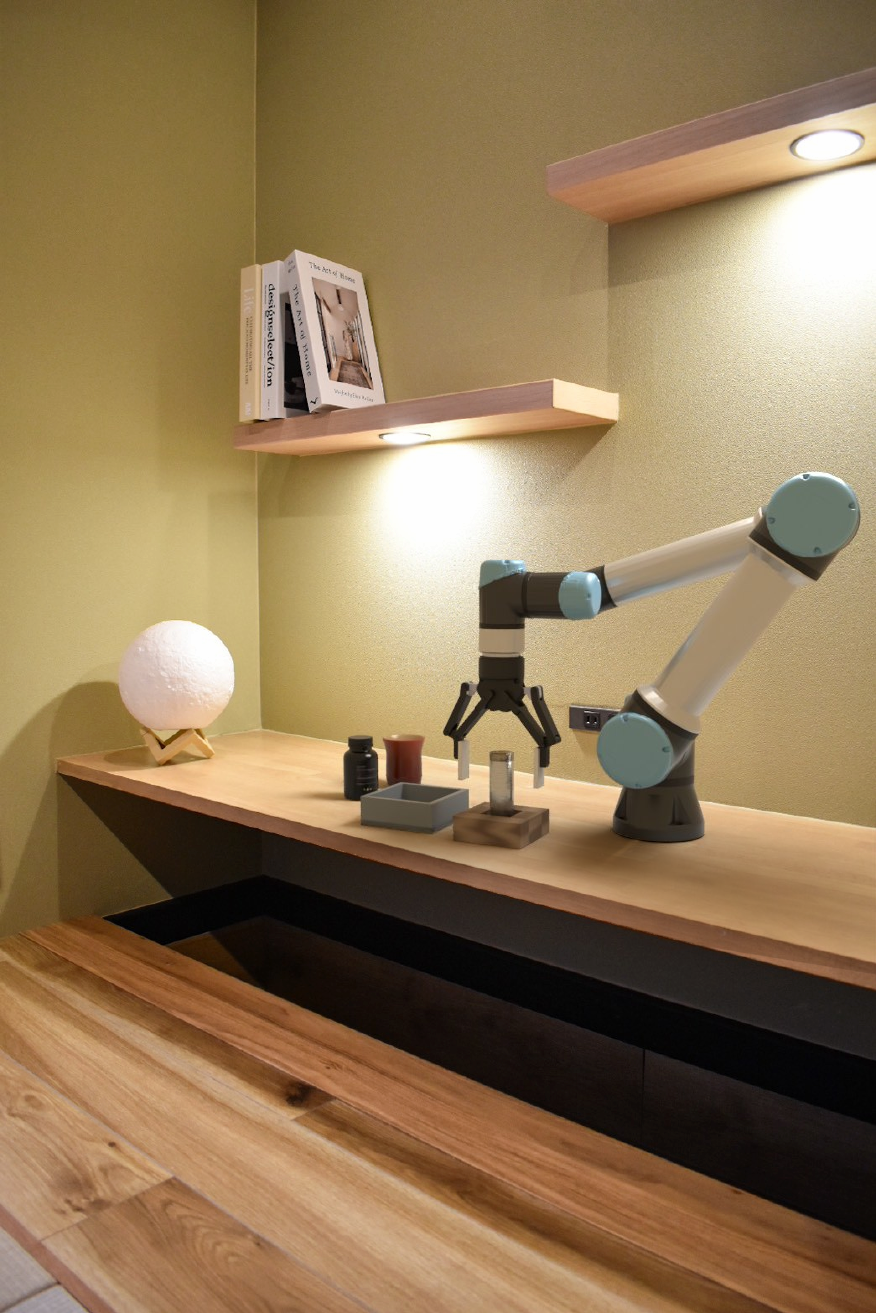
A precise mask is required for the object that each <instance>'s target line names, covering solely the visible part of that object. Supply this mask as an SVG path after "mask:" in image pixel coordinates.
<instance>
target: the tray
mask: <svg viewBox="0 0 876 1313" xmlns="http://www.w3.org/2000/svg"><path fill="white" fill-rule="evenodd" d="M469 808H470V789H469V788H463V787H462V788H460V787H453V786H452V787H450V786H443V785H441V786H440V785H432V784H431V785H430V784H422V783H421V784H414V783H404V782H400V783H397V784H395V785H392V786H386V787H384V788H380V789H378V790H377V791H375V792H372V793H369V794H366V795H363V796H361V801H360V826H366V827H375V828H383V829H391V830H398V831H405V832H413V833H414V832H415V833H423V834H428V835H431V834H435V833H437V832H440V831H441V830H444V829H446V828H448V827H450V826H453V816H454V815H456V814H458V813H461V812H463V811H465V810H467V809H469Z"/></svg>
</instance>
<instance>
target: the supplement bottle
mask: <svg viewBox="0 0 876 1313" xmlns="http://www.w3.org/2000/svg"><path fill="white" fill-rule="evenodd" d="M347 747H348V748H349V749H348V750H346V751H345V752H344V753H343V756H342V761H343V766H342V767H343V769H342V770H343V772H342V773H343V797H344V798H345V799H346V800H349V801H352V802H353V801H354V802H355V801H356V802H361V796H363V795H366V794H369V793H372V792H375V791H377V790H379V754H378V752H377V751H376V750H375V749H373V747H374V737H373V736H371V735H366V734H365V735H364V734H361V735H360V734H358V735H357V734H356V735H351V736H348V738H347Z"/></svg>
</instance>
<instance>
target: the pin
mask: <svg viewBox="0 0 876 1313" xmlns="http://www.w3.org/2000/svg"><path fill="white" fill-rule="evenodd" d="M488 753H489V756H488V758H489V766H488V767H489V802H490V815H493V816H502V817H512V816H514V805H515V752H514V751H513V750H512V751H511V750H500V749H499V750H492V751H489V752H488Z"/></svg>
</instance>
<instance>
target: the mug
mask: <svg viewBox="0 0 876 1313" xmlns="http://www.w3.org/2000/svg"><path fill="white" fill-rule="evenodd" d="M381 738H382V742H383V746H384V749H385V757H386V759H385V779H386V780H385V781H386V784H387V787H389V786H392V785H395V784H397V783H400V782H404V783H414V784H422V778H423V763H422V762H423V761H422V758H423V757H422V754H423V752H422V751H423V748H424V745H425V744H424V743H425V739H426V737H425V736H424V735H420V734H411V733H399V734H398V733H397V734H388V735H384V736H382V737H381Z"/></svg>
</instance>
